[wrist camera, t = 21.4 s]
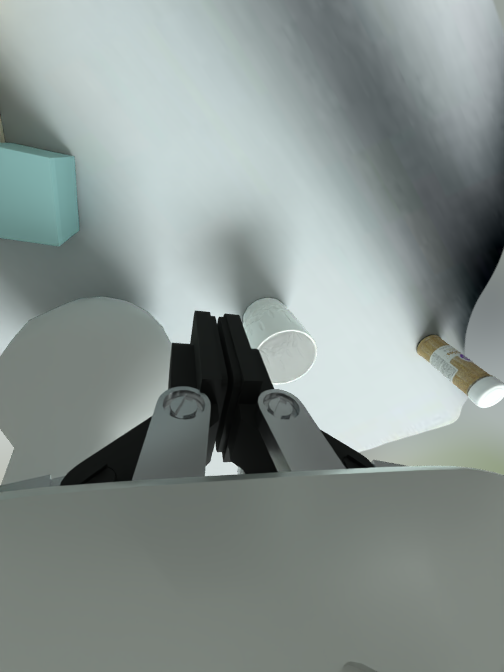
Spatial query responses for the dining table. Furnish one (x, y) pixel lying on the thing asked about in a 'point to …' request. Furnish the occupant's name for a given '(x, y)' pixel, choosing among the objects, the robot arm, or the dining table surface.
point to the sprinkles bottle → (461, 371)
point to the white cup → (279, 340)
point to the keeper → (37, 195)
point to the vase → (79, 383)
